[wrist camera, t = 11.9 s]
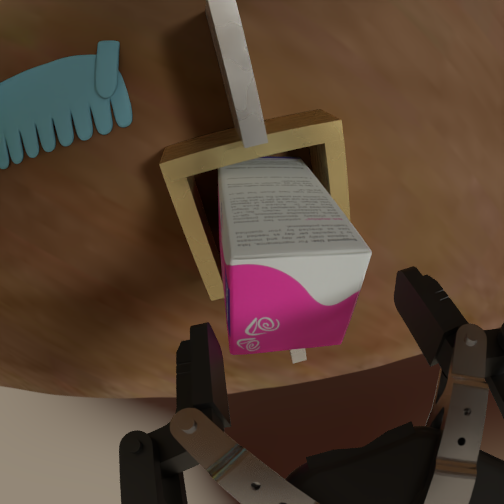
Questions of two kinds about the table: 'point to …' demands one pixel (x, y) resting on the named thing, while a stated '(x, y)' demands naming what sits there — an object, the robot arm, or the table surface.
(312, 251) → the supplement box
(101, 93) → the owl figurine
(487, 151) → the table surface
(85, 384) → the table surface
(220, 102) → the table surface
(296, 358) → the square frame with handle
